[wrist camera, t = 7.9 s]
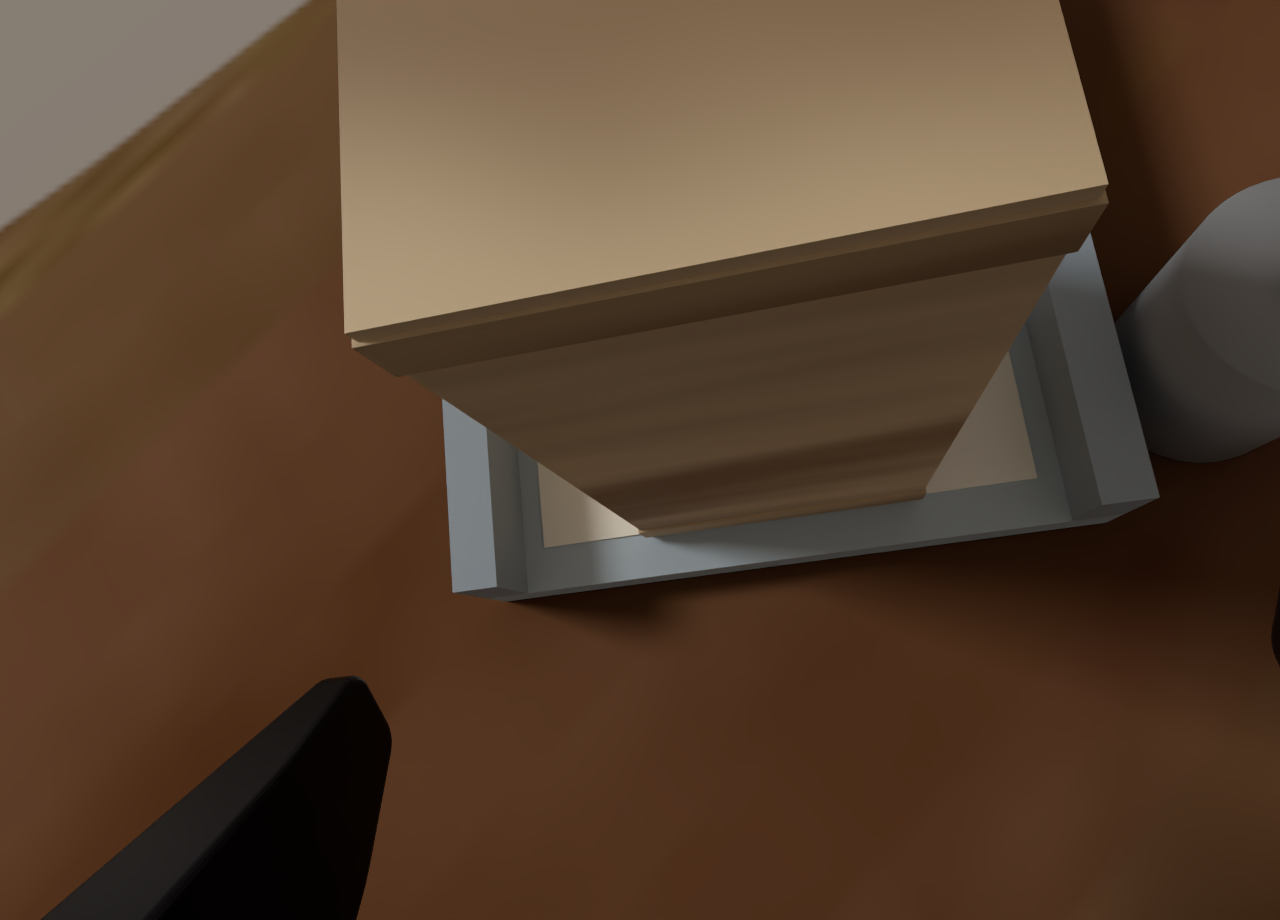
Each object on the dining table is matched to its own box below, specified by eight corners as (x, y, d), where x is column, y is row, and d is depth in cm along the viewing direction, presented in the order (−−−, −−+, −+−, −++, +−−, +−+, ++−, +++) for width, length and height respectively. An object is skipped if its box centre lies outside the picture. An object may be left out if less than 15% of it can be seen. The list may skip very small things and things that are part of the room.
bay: (1333, 493, 18) (1582, 414, 12) (506, 601, 21) (383, 581, 15) (1142, -114, 22) (1260, -398, 16) (468, 57, 25) (358, -126, 19)
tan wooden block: (921, 501, 18) (1116, 189, 6) (647, 538, 20) (338, 339, 7) (880, 285, 20) (973, -339, 7) (624, 332, 21) (328, -142, 8)
